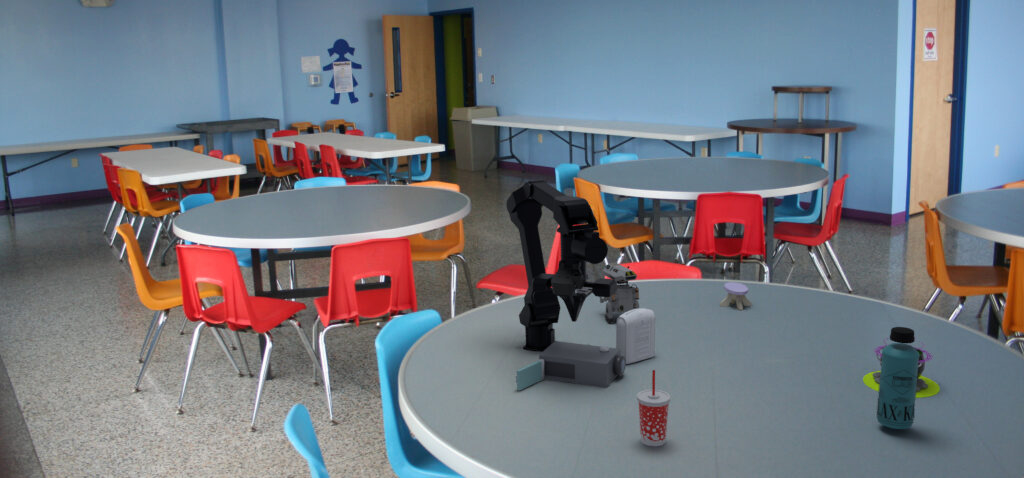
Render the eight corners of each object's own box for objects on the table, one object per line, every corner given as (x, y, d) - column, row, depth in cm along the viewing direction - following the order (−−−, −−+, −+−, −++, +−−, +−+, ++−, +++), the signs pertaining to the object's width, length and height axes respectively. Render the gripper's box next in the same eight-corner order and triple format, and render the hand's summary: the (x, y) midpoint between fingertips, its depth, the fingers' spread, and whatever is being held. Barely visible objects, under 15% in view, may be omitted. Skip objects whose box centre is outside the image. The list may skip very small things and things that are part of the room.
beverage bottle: (868, 423, 155) (875, 324, 151) (901, 420, 156) (909, 322, 152) (887, 438, 149) (894, 335, 145) (921, 435, 149) (929, 333, 145)
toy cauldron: (847, 379, 177) (850, 331, 175) (896, 367, 183) (900, 320, 181) (905, 403, 164) (909, 352, 161) (956, 390, 170) (960, 340, 167)
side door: (540, 377, 182) (540, 358, 181) (545, 379, 181) (545, 359, 180) (515, 389, 176) (515, 369, 175) (520, 391, 175) (520, 371, 174)
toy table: (717, 300, 237) (718, 281, 236) (749, 301, 236) (750, 282, 235) (721, 310, 228) (722, 291, 227) (754, 311, 226) (755, 291, 225)
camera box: (539, 378, 183) (538, 352, 181) (555, 362, 192) (555, 338, 190) (614, 388, 175) (614, 362, 174) (627, 372, 184) (627, 346, 183)
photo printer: (645, 352, 197) (645, 303, 194) (657, 356, 193) (658, 307, 191) (613, 361, 191) (613, 311, 189) (625, 366, 188) (625, 316, 185)
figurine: (629, 310, 230) (629, 259, 227) (642, 323, 219) (642, 269, 216) (598, 313, 228) (597, 262, 225) (609, 325, 217) (609, 272, 214)
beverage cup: (662, 451, 147) (663, 379, 144) (631, 443, 150) (631, 373, 147) (674, 437, 152) (675, 367, 149) (644, 430, 155) (644, 362, 152)
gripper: (520, 259, 177) (522, 327, 181) (601, 266, 170) (602, 336, 173) (540, 249, 187) (541, 313, 190) (617, 254, 179) (617, 321, 183)
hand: (574, 321), depth 184 cm, fingers closed
